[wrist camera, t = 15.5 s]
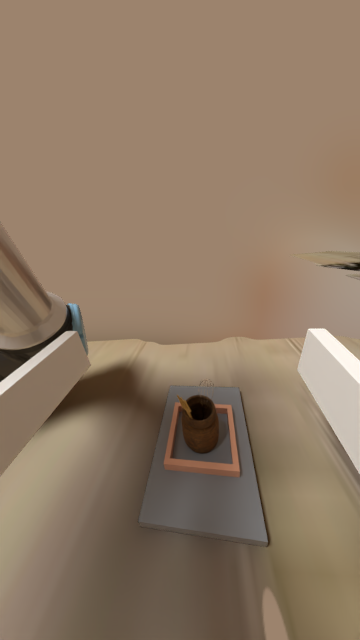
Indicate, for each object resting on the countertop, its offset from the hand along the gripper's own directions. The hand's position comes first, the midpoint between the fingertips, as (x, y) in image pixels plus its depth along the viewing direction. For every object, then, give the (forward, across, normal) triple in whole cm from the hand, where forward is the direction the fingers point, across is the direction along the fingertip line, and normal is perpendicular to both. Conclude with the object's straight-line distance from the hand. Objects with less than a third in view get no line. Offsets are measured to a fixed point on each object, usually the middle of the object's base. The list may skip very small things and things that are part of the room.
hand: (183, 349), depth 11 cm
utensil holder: (+10, 0, -26) cm, 27 cm away
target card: (+10, 0, -27) cm, 29 cm away
